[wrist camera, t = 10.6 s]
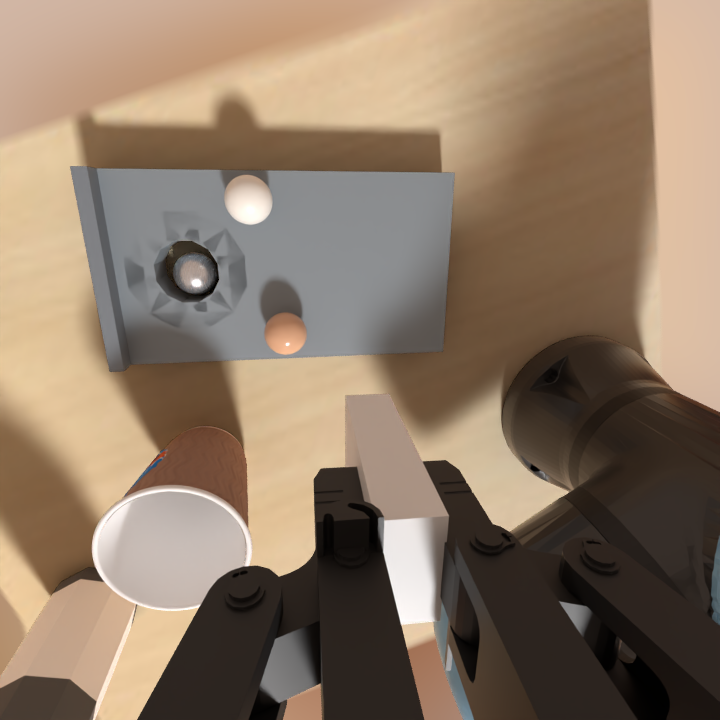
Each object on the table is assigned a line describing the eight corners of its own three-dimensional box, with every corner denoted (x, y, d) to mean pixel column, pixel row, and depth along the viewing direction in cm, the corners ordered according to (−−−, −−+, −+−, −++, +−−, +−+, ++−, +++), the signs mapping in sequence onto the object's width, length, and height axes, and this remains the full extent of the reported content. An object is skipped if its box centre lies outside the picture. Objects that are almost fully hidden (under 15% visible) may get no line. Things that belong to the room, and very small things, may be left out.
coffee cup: (154, 398, 39) (96, 477, 27) (273, 418, 41) (264, 498, 29) (142, 498, 42) (85, 605, 30) (253, 511, 44) (238, 617, 32)
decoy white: (272, 176, 31) (269, 173, 28) (274, 223, 32) (272, 225, 30) (225, 176, 31) (218, 172, 28) (230, 224, 32) (223, 225, 29)
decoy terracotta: (305, 307, 35) (306, 317, 32) (307, 346, 36) (308, 359, 33) (264, 308, 34) (261, 318, 31) (266, 348, 35) (264, 361, 32)
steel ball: (204, 259, 32) (161, 255, 32) (208, 301, 33) (168, 298, 34) (222, 250, 35) (183, 246, 35) (225, 289, 36) (187, 286, 36)
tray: (442, 175, 36) (461, 171, 32) (432, 341, 40) (448, 357, 36) (99, 171, 33) (69, 166, 28) (130, 353, 37) (109, 371, 33)
